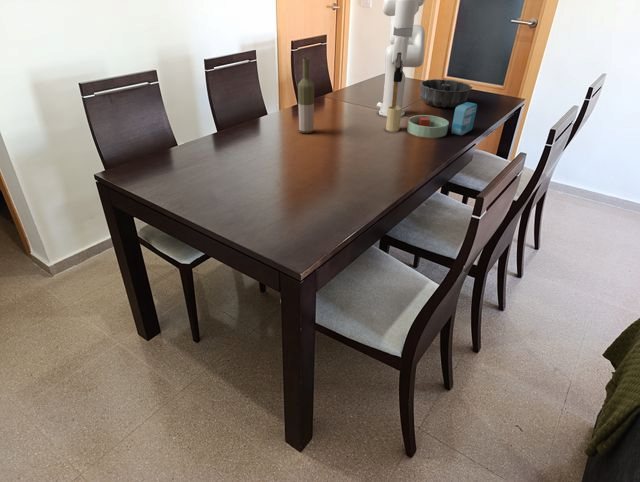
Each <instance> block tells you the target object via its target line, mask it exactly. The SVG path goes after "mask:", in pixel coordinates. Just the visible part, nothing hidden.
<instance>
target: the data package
mask: <svg viewBox="0 0 640 482" xmlns="http://www.w3.org/2000/svg"><path fill="white" fill-rule="evenodd" d="M477 109H478V104H477V103H474V102H468V101H466V102H465V103H464V104H461V105H459V106H457V107H456V108H454V112H453V113H454V114H453V120H452V126H451V130H450V131H451V134H452V135H457V136H461V137H462V136H463V135H466V134H467V133H469V132H470V131H472V130H473V128H474V123H475V118H476V113H477Z"/></svg>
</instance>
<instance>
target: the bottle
mask: <svg viewBox="0 0 640 482" xmlns="http://www.w3.org/2000/svg"><path fill="white" fill-rule="evenodd" d="M297 98H298V99H297V104H298V131H299V133H301V134H311V133H313V132H314V129H315V127H314V125H315V124H314V123H315V122H314V119H315V83H314V82H313V81H312V80H311V79H310V58H309V57H303V58H302V78H301V80H300V81H299V82H298V84H297Z"/></svg>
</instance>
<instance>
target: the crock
mask: <svg viewBox="0 0 640 482" xmlns="http://www.w3.org/2000/svg"><path fill="white" fill-rule="evenodd" d="M401 110H402V111H403V107H402V108H401V107H398V106H396V107H392V106H389V107H388V112H387V116H386V121H385V122H386V123H385V130H386V131H387V132H398V131H400V128H401V127H400V126H401V119H402V116H401Z"/></svg>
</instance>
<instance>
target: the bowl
mask: <svg viewBox="0 0 640 482" xmlns="http://www.w3.org/2000/svg"><path fill="white" fill-rule="evenodd" d="M419 117H428V118H429V119H430V125H429V127H425V126H420V125H418V124H419ZM448 130H449V120H447V119H445V118H444V117H441V116H435V115H429V114H421V115H419V114H418V115H413V116H410V117H408V120H407V126H406V131H407V133H409V134H410V135H413V136H416V137H420V138H429V139H435V138H443V137H445V136H447V134H448Z"/></svg>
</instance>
